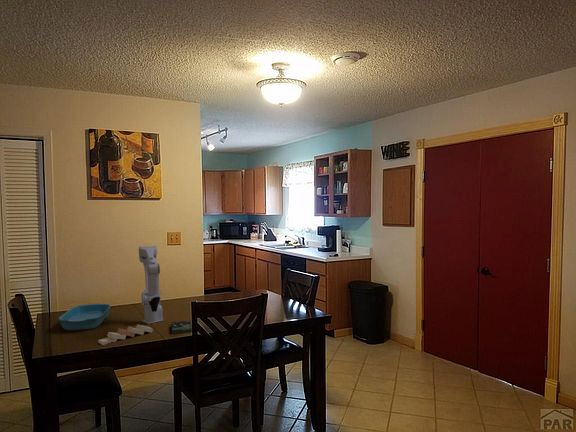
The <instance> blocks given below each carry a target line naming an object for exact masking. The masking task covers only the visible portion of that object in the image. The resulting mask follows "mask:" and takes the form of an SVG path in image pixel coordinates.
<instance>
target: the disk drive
mask: <svg viewBox="0 0 576 432" xmlns="http://www.w3.org/2000/svg"><path fill="white" fill-rule="evenodd" d="M170 326H171V327H170V328H171V335H176V334H186V333H192V332H193V328H192V323H191V320H184V321H178V322H176V321H174V322H173V321H172V322H170Z"/></svg>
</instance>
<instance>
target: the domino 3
mask: <svg viewBox="0 0 576 432" xmlns="http://www.w3.org/2000/svg"><path fill="white" fill-rule="evenodd" d="M116 333H120V334H123V335H126V337H127V336H128V337H132V338H135V335H136V333H132V332H130V331H127V329H123V328H119V327H118V329H117V331H116Z"/></svg>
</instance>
